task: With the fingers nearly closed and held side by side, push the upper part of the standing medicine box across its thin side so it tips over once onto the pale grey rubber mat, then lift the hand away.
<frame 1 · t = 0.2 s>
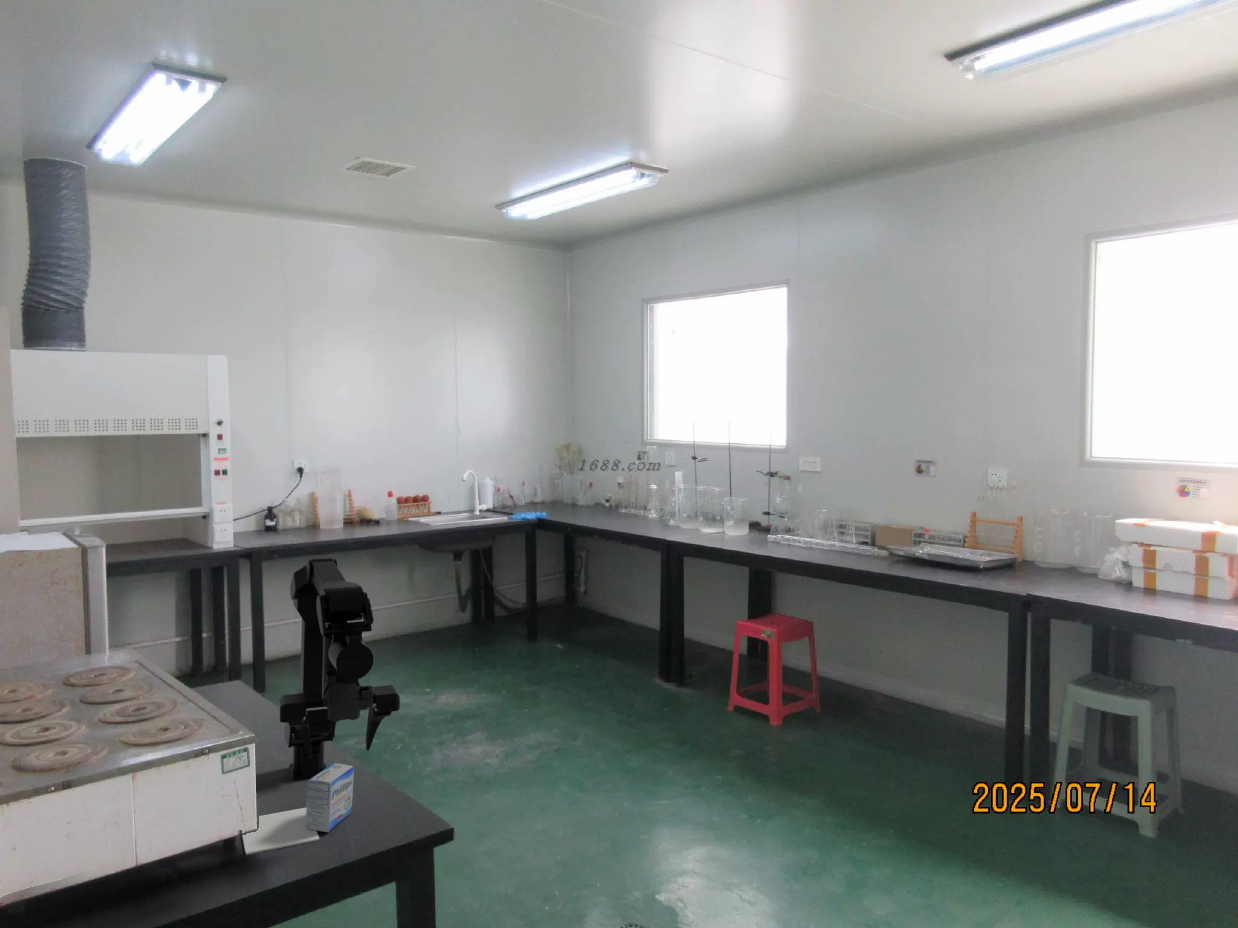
hand: (338, 753, 139), 14 cm above the table, tool pointing down, fingers open, 9 cm apart
medicine box: (328, 822, 144), on the table, touching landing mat
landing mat: (278, 830, 141), on the table
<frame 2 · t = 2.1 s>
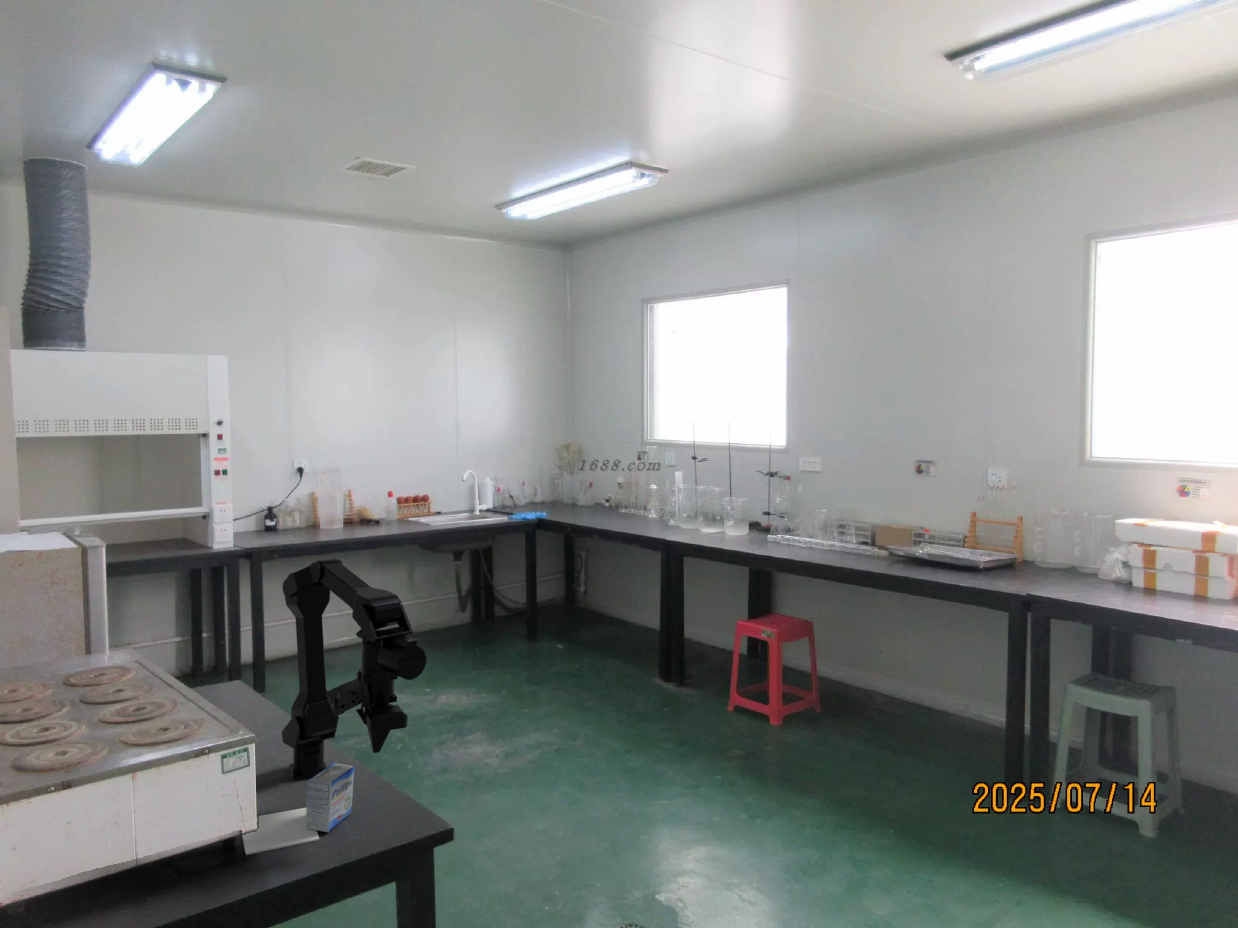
hand: (376, 751, 148), 11 cm above the table, tool pointing down, fingers closed
nothing on the table moved.
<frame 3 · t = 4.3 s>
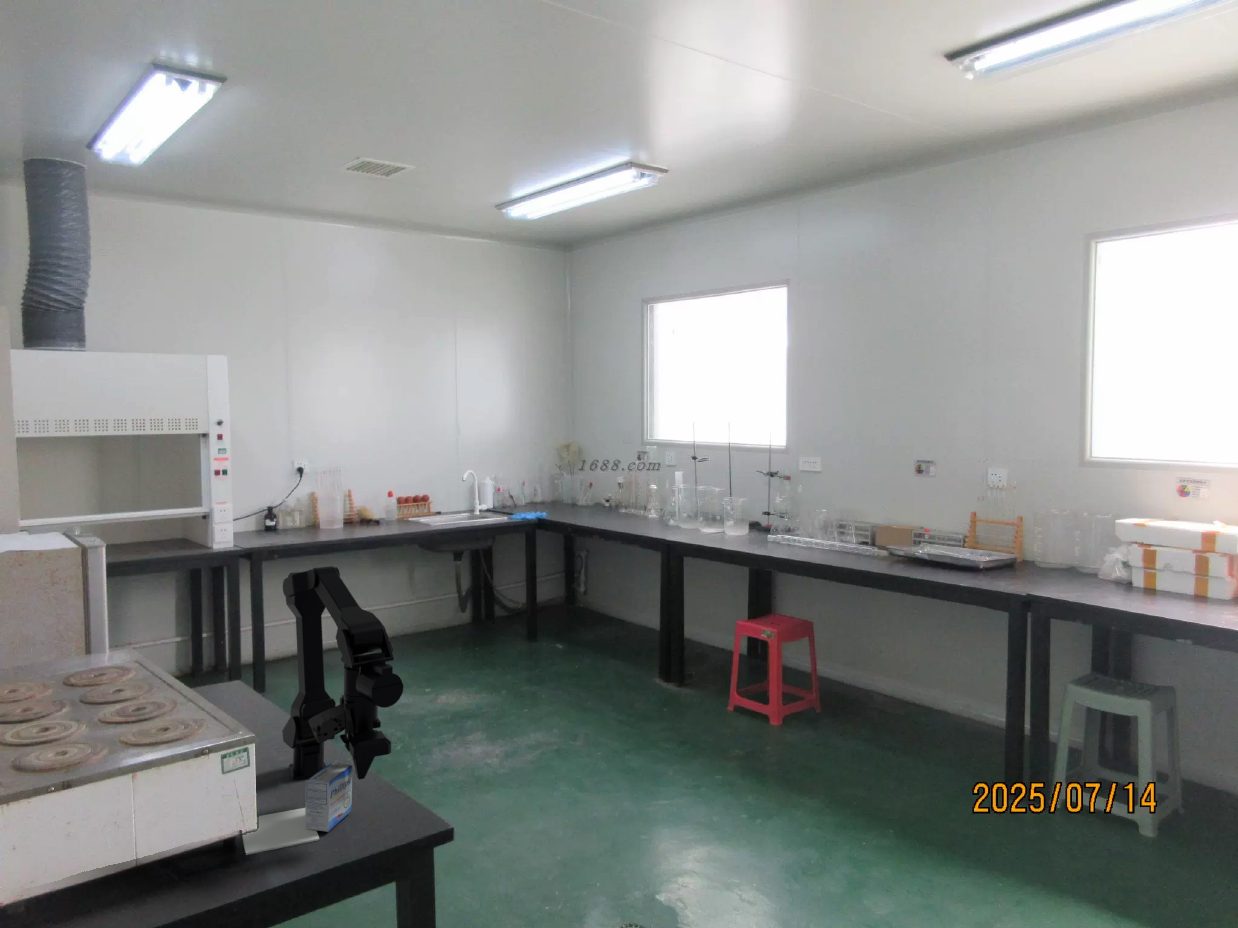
hand: (360, 777, 147), 7 cm above the table, tool pointing down, fingers closed
medicine box: (328, 821, 144), on the table, touching gripper, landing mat
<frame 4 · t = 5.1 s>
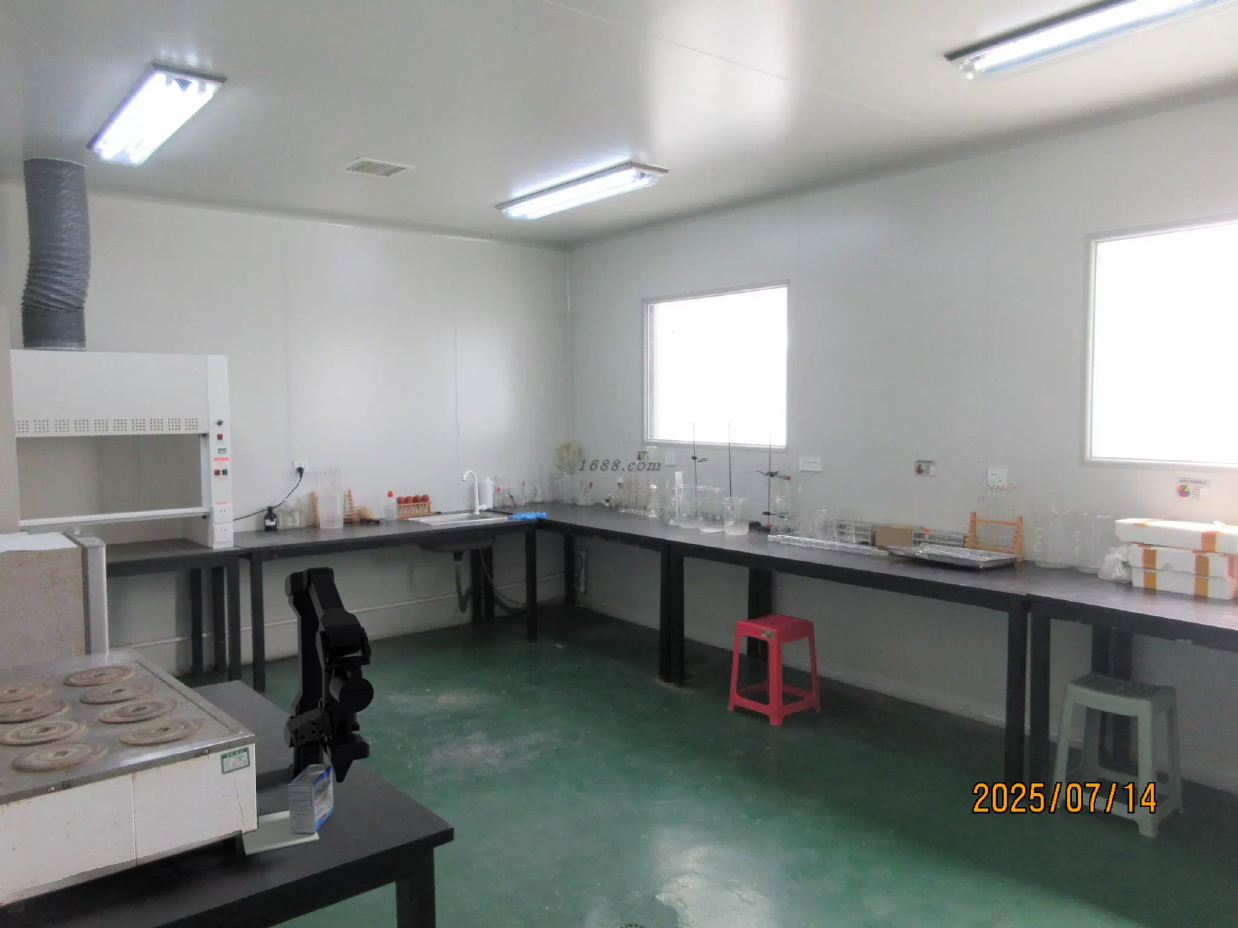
hand: (339, 781, 145), 7 cm above the table, tool pointing down, fingers closed
medicine box: (312, 823, 143), resting on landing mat, touching gripper
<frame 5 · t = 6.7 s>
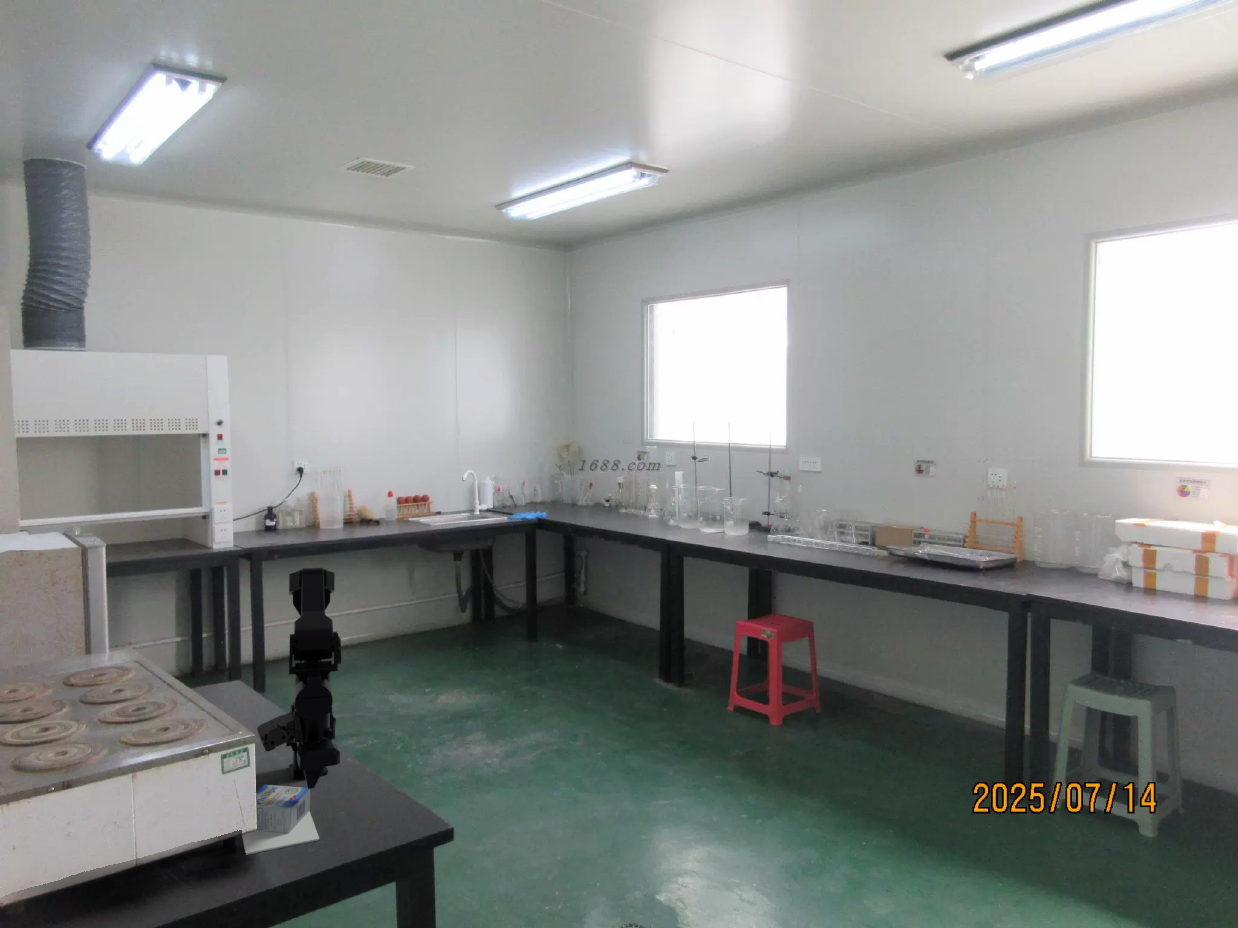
hand: (310, 787, 143), 6 cm above the table, tool pointing down, fingers closed
medicine box: (302, 810, 143), point 2 cm above the table, touching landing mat
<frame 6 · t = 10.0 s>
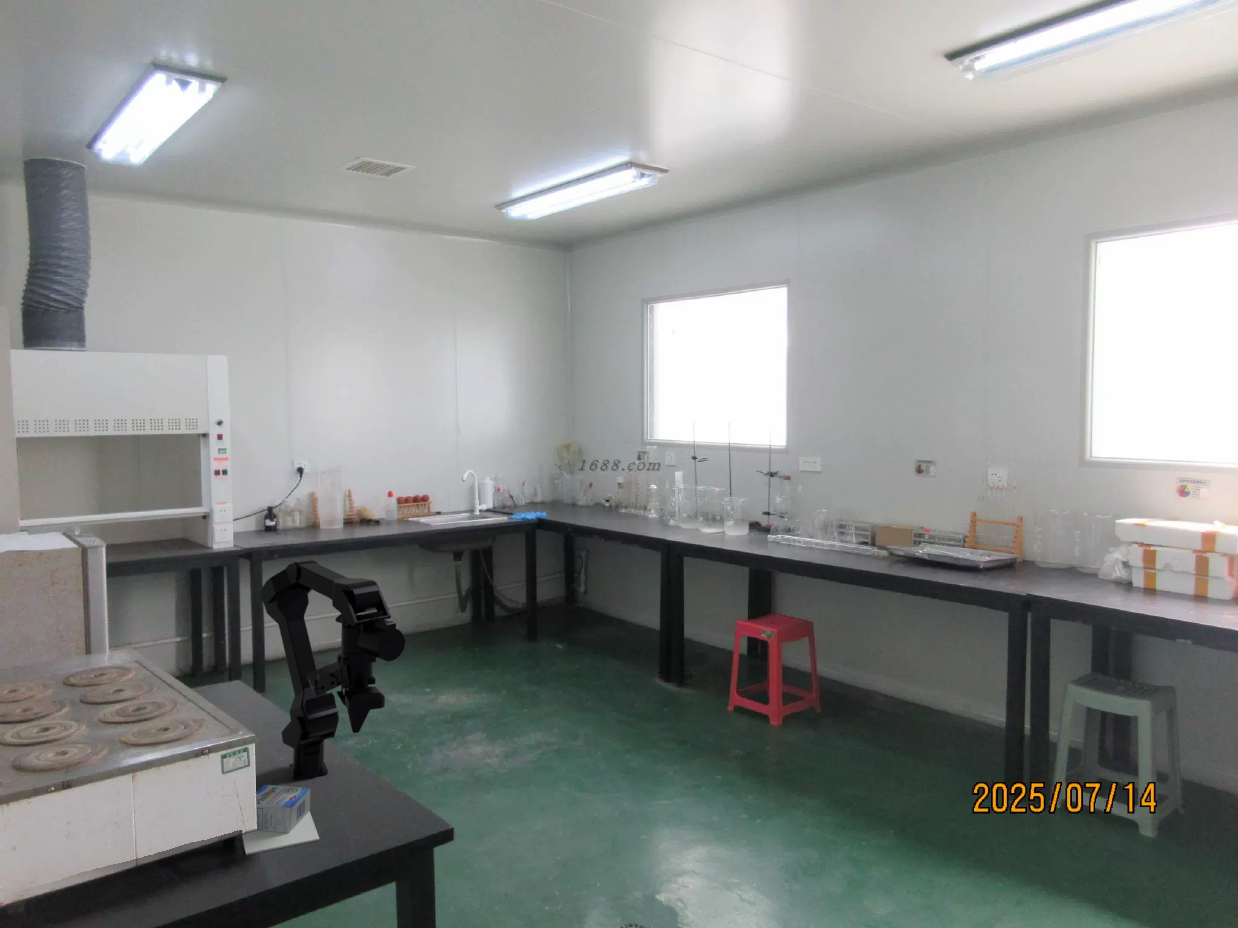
hand: (355, 732, 154), 12 cm above the table, tool pointing down, fingers closed
nothing on the table moved.
at the end: medicine box tilted 89°; medicine box inside the target area (1.4 cm from its centre), point 2.4 cm above the table; medicine box touching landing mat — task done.
